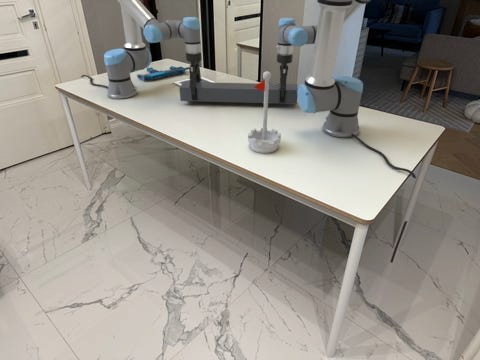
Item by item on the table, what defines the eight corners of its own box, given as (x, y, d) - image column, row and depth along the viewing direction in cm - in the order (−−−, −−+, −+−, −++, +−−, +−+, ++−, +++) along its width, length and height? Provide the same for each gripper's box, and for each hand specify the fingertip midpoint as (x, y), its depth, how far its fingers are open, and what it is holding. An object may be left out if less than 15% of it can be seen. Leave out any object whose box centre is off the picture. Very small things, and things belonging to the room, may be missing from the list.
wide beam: (296, 97, 178) (297, 84, 175) (296, 103, 171) (298, 90, 167) (184, 94, 183) (183, 81, 179) (180, 100, 175) (179, 87, 171)
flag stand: (271, 137, 144) (275, 65, 128) (285, 150, 134) (292, 74, 118) (243, 142, 140) (243, 68, 124) (255, 156, 130) (257, 78, 114)
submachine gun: (174, 61, 240) (194, 66, 223) (175, 66, 242) (194, 72, 225) (128, 70, 221) (146, 76, 205) (130, 76, 223) (147, 82, 207)
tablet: (173, 83, 208) (173, 82, 207) (200, 76, 219) (200, 76, 218) (203, 96, 187) (203, 95, 187) (231, 88, 198) (231, 87, 198)
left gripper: (190, 47, 175) (193, 89, 188) (180, 57, 157) (185, 104, 169) (204, 47, 175) (207, 90, 187) (196, 58, 156) (199, 104, 169)
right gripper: (276, 48, 172) (274, 91, 184) (277, 59, 153) (274, 106, 166) (291, 48, 171) (288, 91, 184) (293, 59, 153) (290, 106, 165)
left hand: (196, 96), depth 178 cm, fingers closed on wide beam, 9 cm apart
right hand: (281, 98), depth 175 cm, fingers closed on wide beam, 9 cm apart
